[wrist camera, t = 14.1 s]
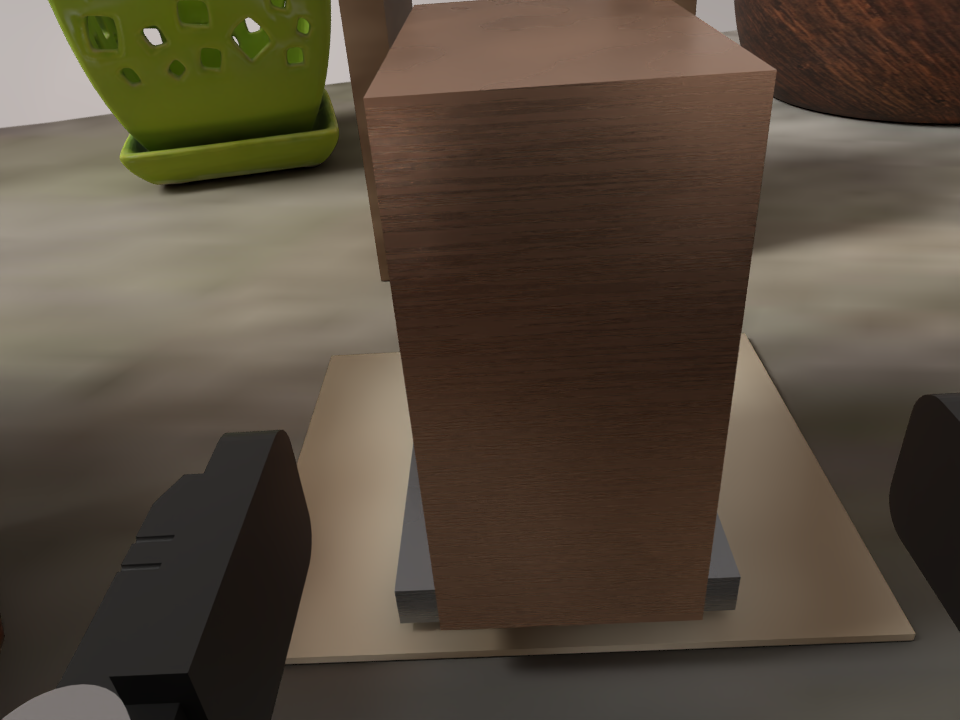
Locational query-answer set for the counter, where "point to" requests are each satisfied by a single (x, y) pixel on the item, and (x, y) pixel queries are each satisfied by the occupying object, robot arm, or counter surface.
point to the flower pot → (209, 82)
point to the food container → (1, 634)
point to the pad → (755, 622)
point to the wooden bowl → (860, 55)
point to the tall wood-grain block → (567, 303)
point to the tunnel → (368, 38)
